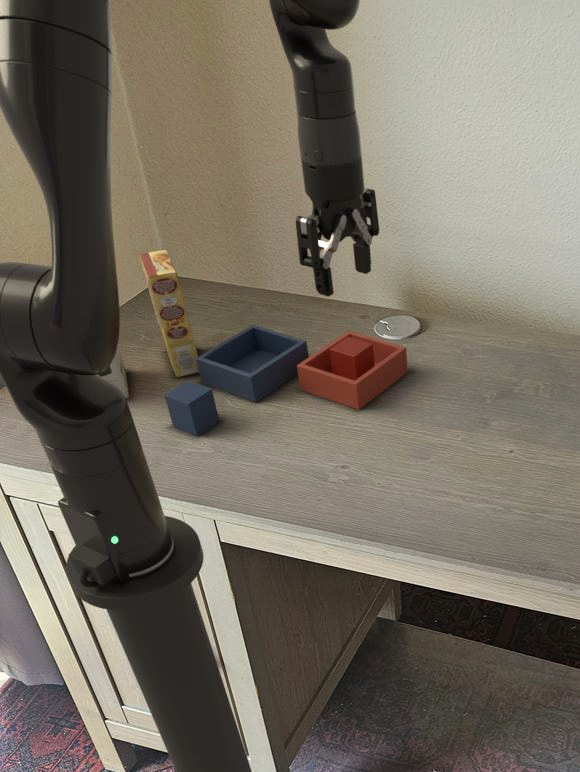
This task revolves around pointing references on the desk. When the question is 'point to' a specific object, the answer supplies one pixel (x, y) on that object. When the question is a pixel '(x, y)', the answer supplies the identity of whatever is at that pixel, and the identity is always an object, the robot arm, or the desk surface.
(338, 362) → the red block
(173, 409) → the blue block
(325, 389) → the red bin
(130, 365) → the desk surface
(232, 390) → the blue bin
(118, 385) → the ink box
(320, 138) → the robot arm
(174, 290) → the candy box
